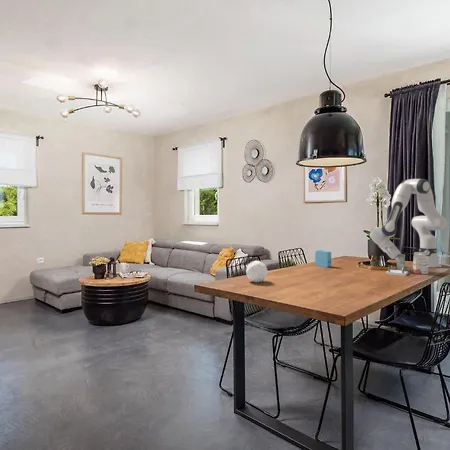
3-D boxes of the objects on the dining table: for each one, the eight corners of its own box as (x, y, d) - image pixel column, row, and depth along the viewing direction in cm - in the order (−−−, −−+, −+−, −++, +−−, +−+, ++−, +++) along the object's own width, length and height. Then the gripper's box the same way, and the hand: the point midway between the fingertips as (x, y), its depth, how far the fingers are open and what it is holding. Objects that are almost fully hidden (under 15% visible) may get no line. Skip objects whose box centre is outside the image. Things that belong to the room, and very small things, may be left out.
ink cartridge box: (415, 274, 254) (416, 252, 253) (412, 272, 259) (413, 251, 258) (428, 274, 253) (429, 253, 252) (425, 273, 258) (426, 252, 257)
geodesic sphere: (250, 276, 217) (261, 256, 221) (236, 272, 229) (247, 254, 233) (265, 288, 224) (275, 269, 228) (251, 284, 235) (261, 266, 239)
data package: (331, 267, 282) (331, 251, 282) (327, 267, 280) (327, 252, 279) (318, 265, 292) (318, 250, 291) (314, 265, 289) (315, 250, 289)
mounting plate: (389, 271, 264) (389, 269, 263) (408, 273, 257) (408, 271, 256) (386, 274, 254) (386, 271, 254) (405, 275, 247) (405, 273, 247)
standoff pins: (391, 269, 262) (391, 265, 262) (406, 271, 256) (406, 266, 256) (388, 271, 254) (388, 267, 254) (403, 273, 248) (404, 268, 248)
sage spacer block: (397, 270, 268) (398, 253, 267) (404, 271, 265) (405, 254, 265) (396, 271, 264) (397, 254, 264) (403, 271, 262) (403, 255, 261)
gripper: (387, 245, 259) (402, 260, 254) (393, 242, 276) (407, 256, 271) (380, 251, 262) (395, 266, 257) (387, 248, 279) (401, 262, 274)
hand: (401, 261), depth 264 cm, fingers open, 8 cm apart
